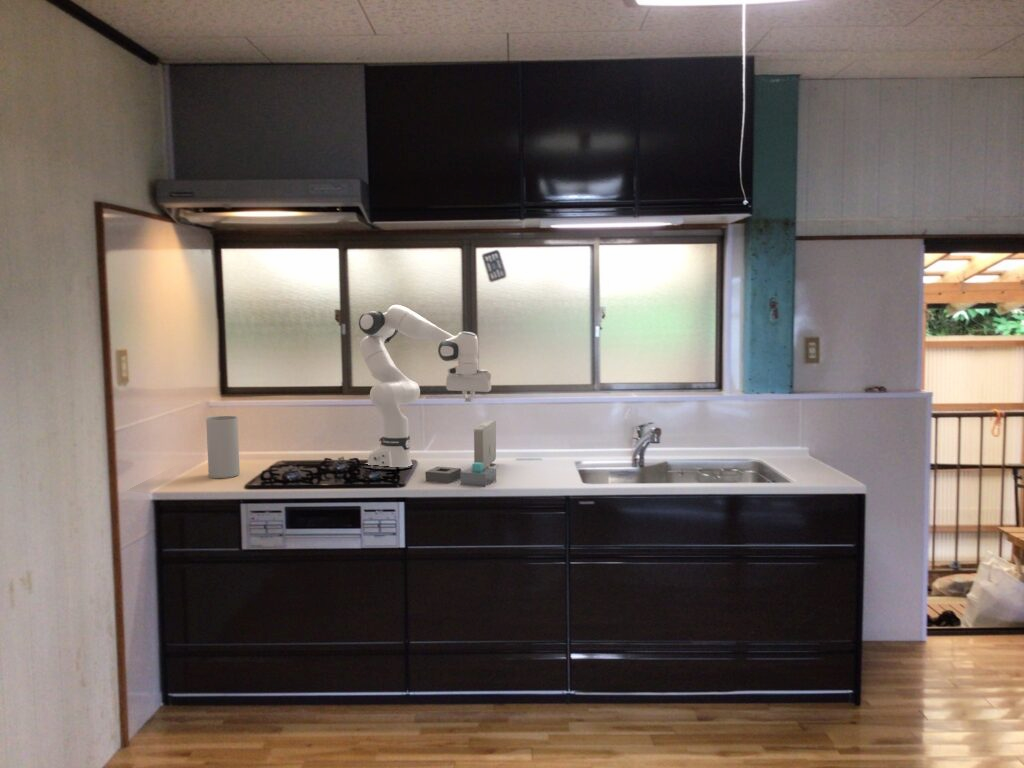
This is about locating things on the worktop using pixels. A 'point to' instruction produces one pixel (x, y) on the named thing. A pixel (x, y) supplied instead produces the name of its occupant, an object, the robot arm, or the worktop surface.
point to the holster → (443, 474)
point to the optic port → (478, 477)
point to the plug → (478, 467)
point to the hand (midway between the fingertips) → (468, 401)
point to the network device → (485, 444)
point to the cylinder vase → (223, 446)
